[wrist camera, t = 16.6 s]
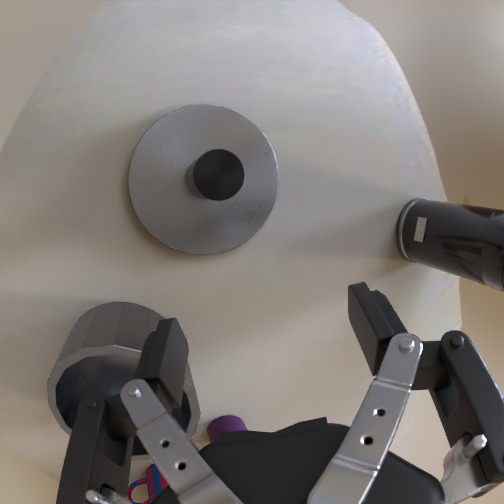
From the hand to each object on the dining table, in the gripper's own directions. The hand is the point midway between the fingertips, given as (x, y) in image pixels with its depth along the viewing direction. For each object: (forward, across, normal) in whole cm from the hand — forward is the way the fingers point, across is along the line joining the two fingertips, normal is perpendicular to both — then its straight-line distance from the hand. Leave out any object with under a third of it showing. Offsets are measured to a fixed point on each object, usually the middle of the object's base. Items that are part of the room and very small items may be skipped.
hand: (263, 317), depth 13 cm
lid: (+18, +4, -3) cm, 18 cm away
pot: (+11, +17, +12) cm, 23 cm away
